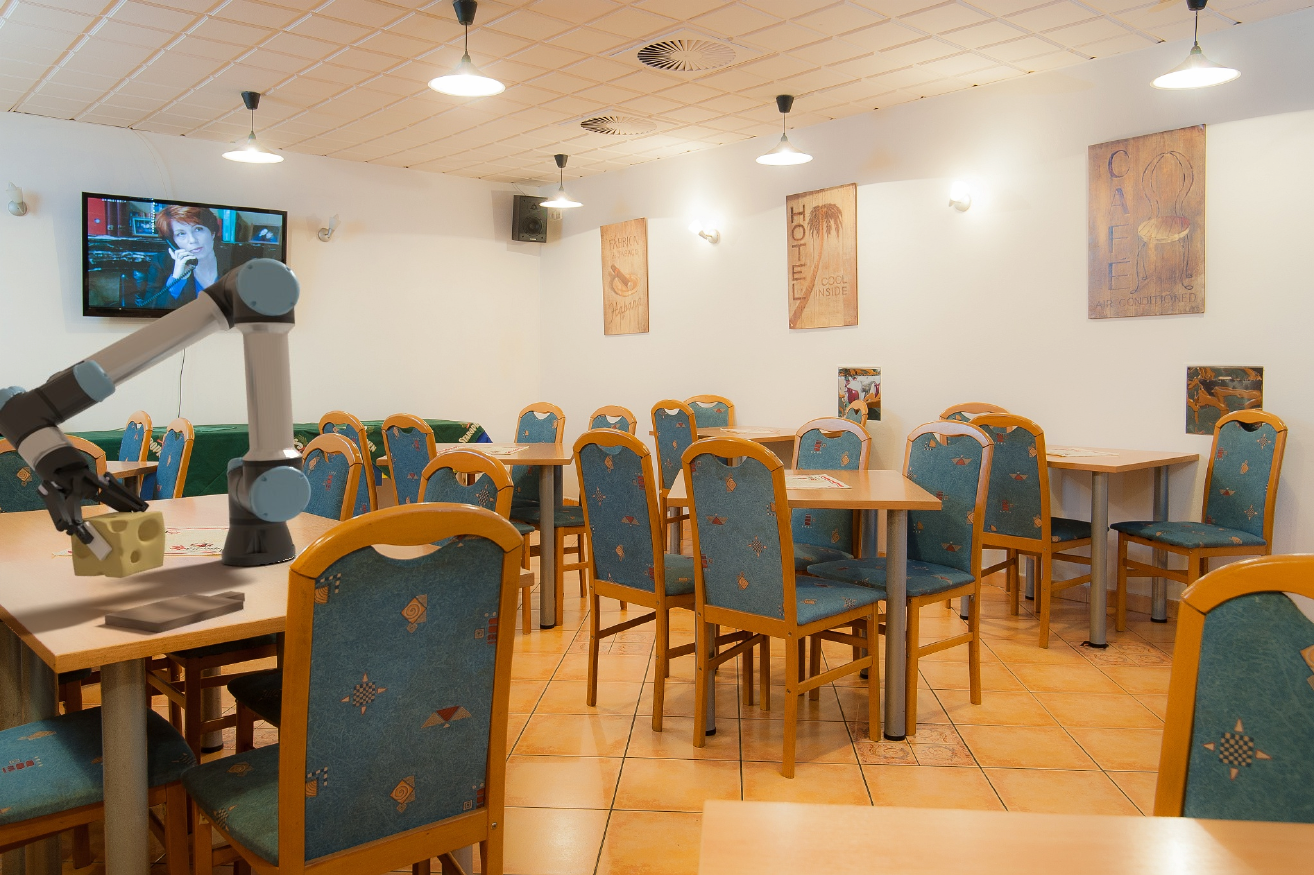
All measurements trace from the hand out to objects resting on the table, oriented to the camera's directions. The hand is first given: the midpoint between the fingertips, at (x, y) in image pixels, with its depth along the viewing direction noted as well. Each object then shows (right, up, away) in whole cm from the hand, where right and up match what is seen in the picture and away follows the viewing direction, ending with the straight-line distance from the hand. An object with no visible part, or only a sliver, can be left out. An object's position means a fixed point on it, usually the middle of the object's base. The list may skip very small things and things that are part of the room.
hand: (132, 548), depth 156 cm
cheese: (-3, -4, +1) cm, 5 cm away
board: (+12, -11, -4) cm, 16 cm away
